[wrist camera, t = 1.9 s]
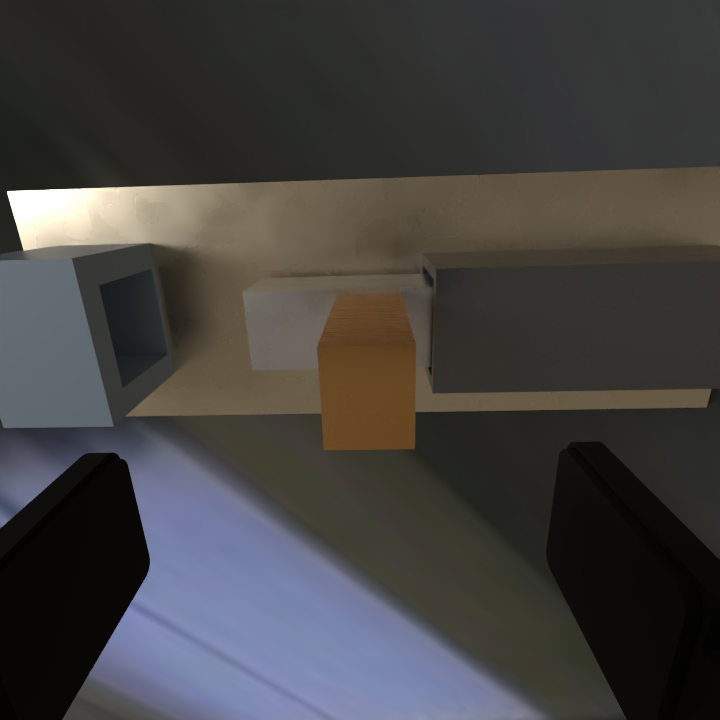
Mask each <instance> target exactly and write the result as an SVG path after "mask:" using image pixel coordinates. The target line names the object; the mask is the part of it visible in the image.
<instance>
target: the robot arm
mask: <svg viewBox="0 0 720 720" xmlns="http://www.w3.org/2000/svg"><path fill="white" fill-rule="evenodd" d="M546 554H547V561H548V565H549V568H550V570H551V572H552V574H553V576H554V578H555V580H556V582H557V584H558V586H559V588H560V590H561V592H562V594H563V596H564V598H565V599H566V601H567V603H568V605H569V607H570V609H571V611H572V613H573V615H574V617H575V619H576V621H577V623H578V625H579V627H580V629H581V631H582V633H583V635H584V637H585V639H586V641H587V643H588V644H589V646H590V648H591V650H592V652H593V654H594V656H595V658H596V660H597V662H598V664H599V666H600V668H601V670H602V672H603V674H604V676H605V678H606V680H607V682H608V684H609V686H610V687H611V689H612V691H613V693H614V695H615V697H616V699H617V701H618V703H619V705H620V707H621V709H622V711H623V713H624V715H625V717H626V719H627V720H720V560H719V559H718V558H717V557H716V556H715V555H714V554H713V553H712V552H711V551H710V550H709V549H708V548H707V547H706V546H705V545H704V544H703V543H702V542H701V541H700V540H699V539H698V538H697V537H696V536H695V535H694V534H693V533H692V532H691V531H690V530H689V529H688V528H687V527H686V526H685V525H684V524H683V523H682V522H681V521H680V520H679V519H678V518H677V517H676V516H675V515H674V514H673V513H672V512H671V511H670V510H669V509H668V508H667V507H666V506H665V505H664V504H663V503H662V502H661V501H660V500H659V499H658V498H657V497H656V496H655V495H654V494H653V493H652V492H651V491H650V490H649V489H648V488H647V487H646V486H645V485H644V484H643V483H642V482H641V481H640V480H639V479H638V478H637V477H636V476H635V475H634V474H633V473H632V472H631V471H630V470H629V469H628V468H627V467H626V466H625V465H624V464H623V463H622V462H621V461H620V460H619V459H618V458H617V457H616V456H615V455H614V454H613V453H612V452H611V451H610V450H609V449H608V448H607V447H606V446H605V445H604V444H603V443H601V442H572V443H570V444H569V446H568V448H567V449H563V450H561V452H560V455H559V460H558V468H557V475H556V483H555V490H554V497H553V505H552V512H551V520H550V527H549V534H548V542H547V550H546ZM149 565H150V557H149V553H148V548H147V544H146V540H145V536H144V531H143V527H142V523H141V519H140V514H139V510H138V506H137V502H136V498H135V493H134V489H133V485H132V481H131V476H130V472H129V468H128V465H127V462H126V461H125V460H123V459H120V457H119V456H118V455H117V454H116V453H87V454H85V455H83V456H82V457H80V458H79V459H78V460H77V461H76V462H75V463H74V464H73V465H71V466H70V467H69V468H68V469H67V470H66V471H65V472H64V473H62V474H61V475H60V476H59V477H58V478H57V479H56V480H55V481H53V482H52V483H51V484H50V485H49V486H48V487H47V488H46V489H44V490H43V491H42V492H41V493H40V494H39V495H38V496H37V497H35V498H34V499H33V500H32V501H31V502H30V503H29V504H28V505H26V506H25V507H24V508H23V509H22V510H21V511H20V512H19V513H17V514H16V515H15V516H14V517H13V518H12V519H11V520H10V521H8V522H7V523H6V524H5V525H4V526H3V527H2V528H1V529H0V720H62V719H63V717H64V715H65V714H66V712H67V710H68V709H69V707H70V705H71V704H72V702H73V700H74V698H75V697H76V695H77V693H78V692H79V690H80V688H81V686H82V685H83V683H84V681H85V680H86V678H87V676H88V675H89V673H90V671H91V669H92V668H93V666H94V664H95V663H96V661H97V659H98V658H99V656H100V654H101V652H102V651H103V649H104V647H105V646H106V644H107V642H108V640H109V639H110V637H111V635H112V634H113V632H114V630H115V629H116V627H117V625H118V623H119V622H120V620H121V618H122V617H123V615H124V613H125V612H126V610H127V608H128V606H129V605H130V603H131V601H132V600H133V598H134V596H135V594H136V593H137V591H138V589H139V588H140V586H141V584H142V583H143V581H144V579H145V577H146V575H147V573H148V570H149Z"/></svg>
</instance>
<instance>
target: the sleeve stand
mask: <svg viewBox="0 0 720 720" xmlns="http://www.w3.org/2000/svg"><path fill="white" fill-rule="evenodd" d="M7 193H8V196H9V200H10V203H11V207H12V211H13V214H14V218H15V221H16V225H17V228H18V232H19V235H20V239H21V242H22V246H23V249H24V251H25V250H32V249H39V248H45V247H52V246H69V245H102V244H136V243H150V245H151V250H152V256H153V261H154V266H155V272H156V277H157V282H158V288H159V293H160V298H161V304H162V309H163V314H164V320H165V325H166V330H167V336H168V341H169V346H170V352H171V357H172V362H173V368H174V374H173V375H172V376H171V377H169V378H168V379H167V380H166V381H165V382H164V383H163V384H161V385H160V386H159V387H158V388H157V389H156V390H155V391H153V392H152V393H151V394H150V395H149V396H148V397H147V398H145V399H144V400H143V401H142V402H141V403H140V404H139V405H137V406H136V407H135V408H134V409H133V410H132V411H131V412H129V413H128V414H127V415H126V416H182V415H246V414H311V413H321V399H320V384H319V370H318V369H300V370H252V365H251V357H250V349H249V340H248V332H247V324H246V316H245V308H244V300H243V291H245V290H246V289H248V288H249V287H250V286H252V285H253V284H255V283H256V282H257V281H259V280H260V279H262V278H282V277H319V276H356V275H393V274H430V275H431V277H432V278H433V279H434V301H433V339H432V367H416V397H415V412H440V411H505V410H570V409H634V408H699V407H707V404H708V400H709V396H710V393H711V389H720V167H692V168H664V169H635V170H606V171H578V172H549V173H520V174H492V175H463V176H434V177H406V178H377V179H348V180H320V181H291V182H262V183H234V184H205V185H176V186H148V187H119V188H90V189H62V190H33V191H7Z"/></svg>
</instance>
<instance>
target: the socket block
mask: <svg viewBox="0 0 720 720" xmlns="http://www.w3.org/2000/svg"><path fill="white" fill-rule="evenodd" d="M173 374H174V368H173V362H172V357H171V352H170V346H169V341H168V336H167V330H166V325H165V320H164V314H163V309H162V304H161V298H160V293H159V288H158V282H157V277H156V272H155V266H154V261H153V256H152V250H151V245H150V243H136V244H102V245H69V246H52V247H45V248H39V249H32V250H25V251H18V252H12V253H5V254H0V419H1V422H2V425H3V428H37V427H105V426H115V425H116V424H117V423H118V422H119V421H120V420H121V419H123V418H124V417H125V416H126V415H127V414H128V413H129V412H131V411H132V410H133V409H134V408H135V407H136V406H137V405H139V404H140V403H141V402H142V401H143V400H144V399H145V398H147V397H148V396H149V395H150V394H151V393H152V392H153V391H155V390H156V389H157V388H158V387H159V386H160V385H161V384H163V383H164V382H165V381H166V380H167V379H168V378H169V377H171V376H172V375H173Z"/></svg>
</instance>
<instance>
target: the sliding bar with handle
mask: <svg viewBox="0 0 720 720" xmlns="http://www.w3.org/2000/svg"><path fill="white" fill-rule="evenodd" d="M243 300H244V308H245V316H246V324H247V332H248V340H249V349H250V357H251V365H252V370H300V369H318V370H319V384H320V399H321V414H322V429H323V443H324V450H373V449H415V397H416V367H432V339H433V301H434V279H433V278H432V277H431V275H430V274H393V275H356V276H319V277H282V278H262V279H260V280H259V281H257V282H256V283H255V284H253V285H252V286H250V287H249V288H248V289H246V290H245V291H243Z"/></svg>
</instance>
